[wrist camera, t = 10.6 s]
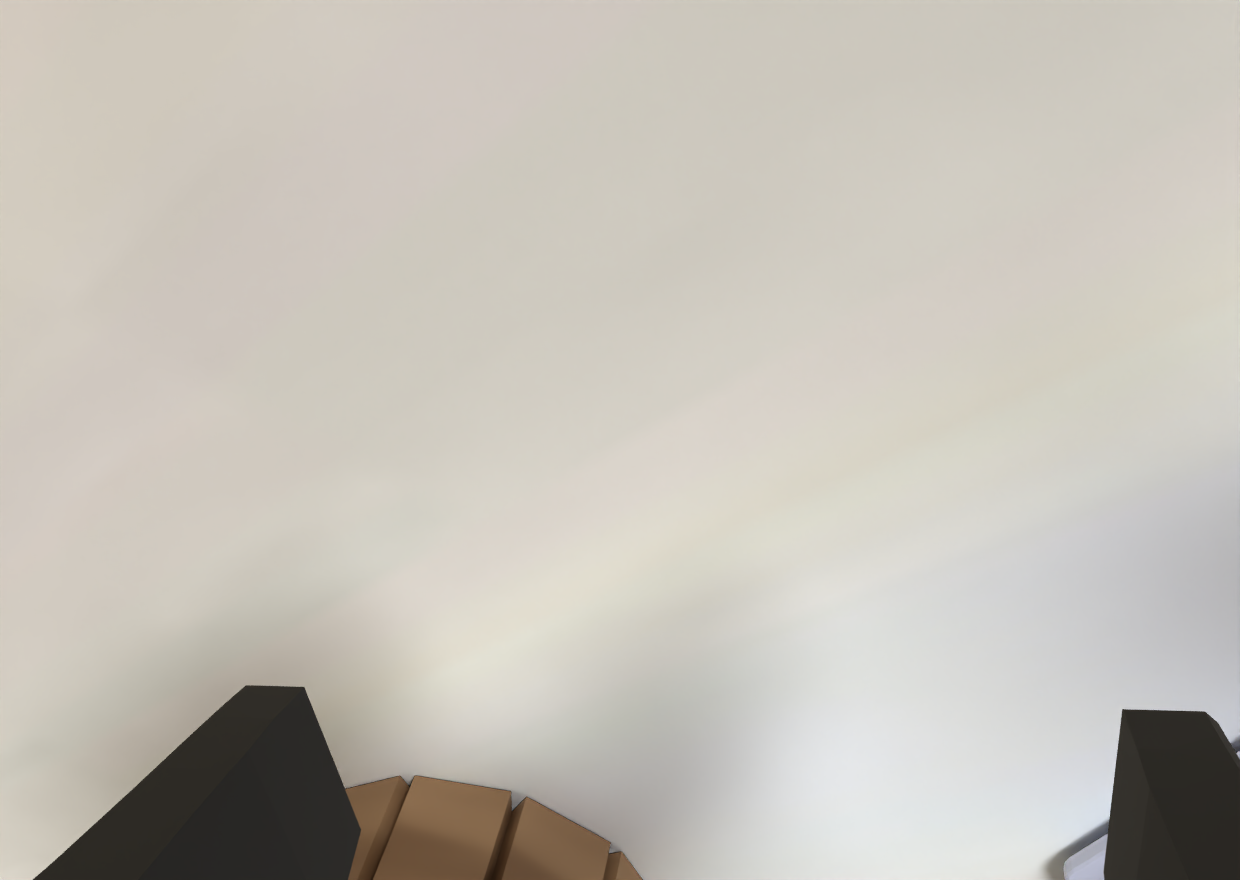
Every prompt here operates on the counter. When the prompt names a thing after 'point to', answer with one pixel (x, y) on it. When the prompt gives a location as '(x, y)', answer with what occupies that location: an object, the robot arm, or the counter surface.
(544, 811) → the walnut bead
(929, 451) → the counter surface
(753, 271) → the counter surface
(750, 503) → the counter surface
